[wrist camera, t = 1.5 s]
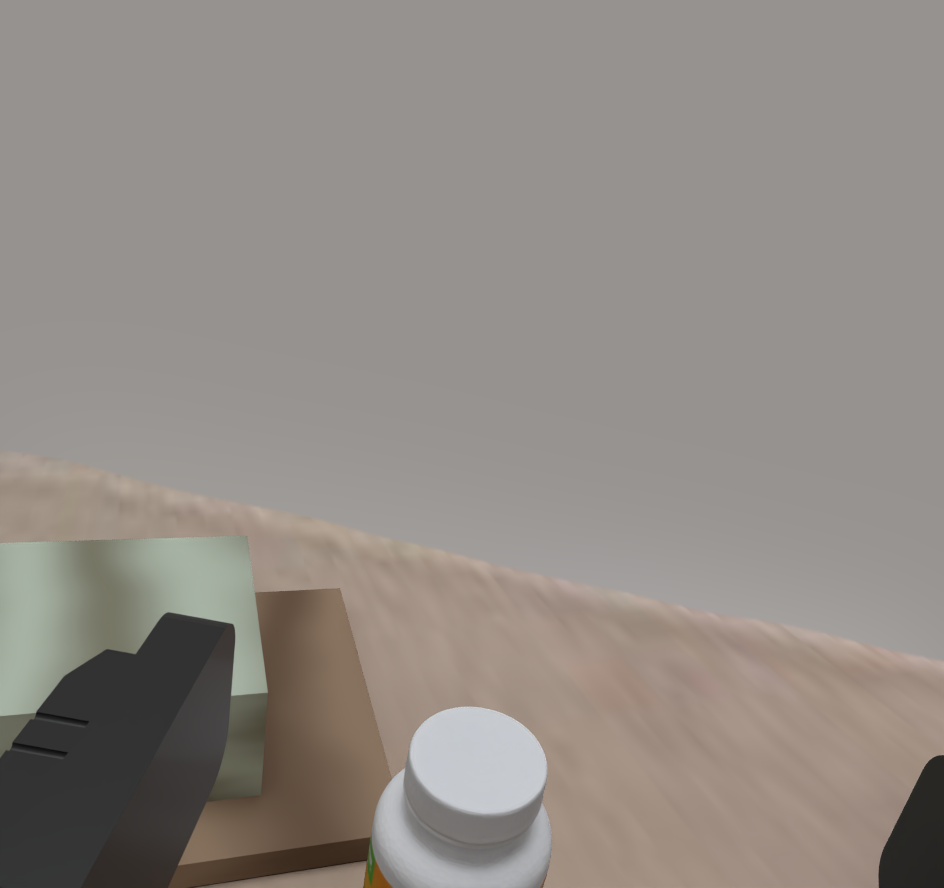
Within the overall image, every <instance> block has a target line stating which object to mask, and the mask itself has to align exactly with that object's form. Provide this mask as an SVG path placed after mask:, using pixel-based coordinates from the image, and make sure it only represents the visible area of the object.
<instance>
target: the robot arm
mask: <svg viewBox="0 0 944 888" xmlns="http://www.w3.org/2000/svg"><path fill="white" fill-rule="evenodd" d="M234 651H235V627H234V625H233V624H231V623H226V622H220V621H215V620H209V619H204V618H198V617H193V616H187V615H182V614H176V613H171V612H167V613H165V614H164V615H163V616H162V617H161V618H160V620H159V621H158V622H157V624H156V625H155V627H154V628H153V630H152V631H151V632H150V634H149V635H148V637H147V638H146V640H145V641H144V643H143V644H142V646H141V647H140V648H139V650H138V651H137V653H136V654H132V653H127V652H121V651H116V650H110V649H106V650H104V651H103V652H101V653H100V654H98V655H96V656H95V657H93V658H92V659H90V660H88V661H87V662H85V663H84V664H82V665H81V666H79V667H77V668H76V669H74V670H73V671H71V672H69V673H68V674H66V675H65V676H64V677H63V678H62V679H61V681H60V682H59V683H58V685H57V686H56V687H55V688H54V690H53V691H52V692H51V693H50V695H49V696H48V697H47V699H46V700H45V701H44V702H43V704H42V705H41V706H40V708H39V709H38V710H37V711H36V716H35V718H34V720H33V719H30V720H29V722H28V723H27V724H26V725H25V727H24V728H23V729H22V731H21V732H20V733H19V734H18V736H17V737H16V738H15V739H14V741H13V742H12V747H11V749H10V750H9V751H8V750H6V751H5V752H4V754H3V755H2V756H1V757H0V888H168V886H169V884H170V882H171V880H172V878H173V875H174V873H175V871H176V869H177V866H178V864H179V862H180V860H181V858H182V855H183V853H184V851H185V849H186V846H187V844H188V842H189V840H190V838H191V835H192V833H193V831H194V829H195V826H196V824H197V822H198V820H199V818H200V815H201V813H202V811H203V809H204V806H205V804H206V802H207V800H208V798H209V795H210V793H211V791H212V789H213V786H214V784H215V781H216V778H217V776H218V773H219V770H220V766H221V763H222V759H223V755H224V751H225V747H226V742H227V736H228V728H229V716H230V703H231V690H232V677H233V664H234ZM879 888H944V755H941V756H936V757H934V758H932V759H931V760H930V761H929V762H928V763H927V764H926V766H925V767H924V769H923V771H922V773H921V775H920V777H919V779H918V781H917V783H916V785H915V787H914V789H913V791H912V793H911V795H910V797H909V799H908V801H907V803H906V805H905V807H904V809H903V811H902V813H901V815H900V817H899V819H898V821H897V823H896V825H895V827H894V829H893V831H892V833H891V835H890V837H889V839H888V841H887V843H886V845H885V847H884V850H883V852H882V855H881V859H880V865H879Z"/></svg>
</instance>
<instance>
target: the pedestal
mask: <svg viewBox="0 0 944 888" xmlns="http://www.w3.org/2000/svg"><path fill="white" fill-rule="evenodd" d="M167 612H171V613H176V614H182V615H187V616H193V617H198V618H204V619H209V620H215V621H220V622H226V623H231V624H233V625H234V627H235V651H234V664H233V677H232V690H231V703H230V716H229V728H228V736H227V742H226V747H225V751H224V755H223V759H222V763H221V766H220V770H219V773H218V776H217V778H216V781H215V784H214V786H213V789H212V791H211V793H210V795H209V798H208V800H207V802H206V804H205V806H204V809H203V811H202V813H201V815H200V818H199V820H198V822H197V824H196V826H195V829H194V831H193V833H192V835H191V838H190V840H189V842H188V844H187V846H186V849H185V851H184V853H183V855H182V858H181V860H180V862H179V864H178V866H177V869H176V871H175V873H174V875H173V878H172V880H171V882H170V884H169V886H168V888H189V887H195V886H202V885H208V884H215V883H221V882H227V881H234V880H240V879H247V878H253V877H259V876H266V875H272V874H279V873H285V872H291V871H298V870H304V869H311V868H317V867H324V866H330V865H336V864H343V863H349V862H356V861H362V860H367V859H368V852H369V846H370V838H371V831H372V825H373V820H374V815H375V811H376V807H377V804H378V802H379V799H380V797H381V795H382V793H383V791H384V790H385V788H386V786H387V785H388V784H389V782H390V781H391V780H392V779H391V775H390V771H389V768H388V764H387V760H386V757H385V753H384V749H383V745H382V742H381V738H380V734H379V731H378V727H377V723H376V720H375V716H374V712H373V709H372V705H371V701H370V698H369V694H368V690H367V686H366V683H365V679H364V675H363V672H362V668H361V664H360V661H359V657H358V653H357V650H356V646H355V642H354V639H353V635H352V631H351V628H350V624H349V620H348V616H347V613H346V609H345V605H344V602H343V598H342V594H341V591H340V588H338V589H318V590H299V591H279V592H259V593H255V591H254V583H253V576H252V568H251V560H250V553H249V545H248V538H247V536H224V537H190V538H157V539H123V540H89V541H55V542H22V543H0V757H1V756H2V755H3V754H4V752H5V751H6V750H8V751H9V750H10V749H11V747H12V742H13V741H14V739H15V738H16V737H17V736H18V734H19V733H20V732H21V731H22V729H23V728H24V727H25V725H26V724H27V723H28V722H29V720H30V719H33V720H34V718H35V716H36V711H37V710H38V709H39V708H40V706H41V705H42V704H43V702H44V701H45V700H46V699H47V697H48V696H49V695H50V693H51V692H52V691H53V690H54V688H55V687H56V686H57V685H58V683H59V682H60V681H61V679H62V678H63V677H64V676H65V675H66V674H68V673H69V672H71V671H73V670H74V669H76V668H77V667H79V666H81V665H82V664H84V663H85V662H87V661H88V660H90V659H92V658H93V657H95V656H96V655H98V654H100V653H101V652H103V651H104V650H106V649H110V650H116V651H121V652H127V653H132V654H136V653H137V651H138V650H139V648H140V647H141V646H142V644H143V643H144V641H145V640H146V638H147V637H148V635H149V634H150V632H151V631H152V630H153V628H154V627H155V625H156V624H157V622H158V621H159V620H160V618H161V617H162V616H163V615H164V614H165V613H167Z"/></svg>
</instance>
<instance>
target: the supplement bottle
mask: <svg viewBox="0 0 944 888" xmlns="http://www.w3.org/2000/svg"><path fill="white" fill-rule="evenodd" d="M546 780H547V762H546V757H545V754H544V751H543V749H542V747H541V745H540V744H539V742H538V740H537V739H536V738H535V736H534V735H533V734H532V733H531V732H530V731H529V730H528V729H527V728H526V727H525V726H523V725H522V724H521V723H519V722H518V721H516V720H515V719H513V718H511V717H509V716H507V715H505V714H503V713H500V712H497V711H494V710H491V709H485V708H480V707H457V708H451V709H448V710H444V711H441V712H439V713H437V714H435V715H433V716H431V717H430V718H428V719H427V720H426V721H425V722H423V723H422V725H421V726H420V727H419V728H418V729H417V731H416V732H415V734H414V736H413V738H412V740H411V743H410V747H409V752H408V757H407V761H406V766H405V768H404V769H403V770H402V771H400V772H399V773H398V774H397V775H396V776H395V777H394V778H393V779H392V780H391V781H390V782H389V784H388V785H387V786H386V788H385V790H384V791H383V793H382V795H381V797H380V799H379V802H378V804H377V807H376V811H375V815H374V820H373V825H372V831H371V838H370V846H369V852H368V859H367V866H366V872H365V879H364V886H363V888H543V885H544V882H545V879H546V875H547V871H548V867H549V862H550V858H551V851H552V833H551V827H550V822H549V818H548V815H547V812H546V810H545V807H544V805H543V804H542V800H543V793H544V789H545V785H546Z"/></svg>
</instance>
